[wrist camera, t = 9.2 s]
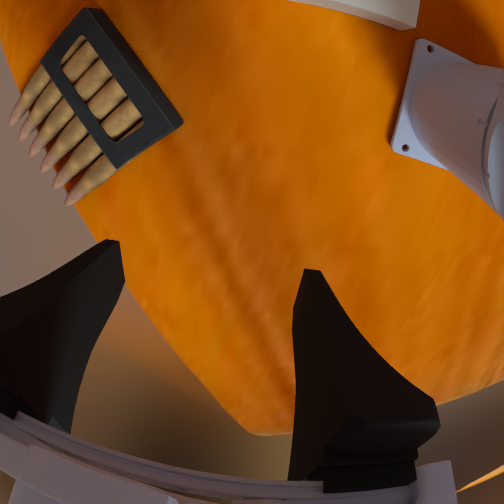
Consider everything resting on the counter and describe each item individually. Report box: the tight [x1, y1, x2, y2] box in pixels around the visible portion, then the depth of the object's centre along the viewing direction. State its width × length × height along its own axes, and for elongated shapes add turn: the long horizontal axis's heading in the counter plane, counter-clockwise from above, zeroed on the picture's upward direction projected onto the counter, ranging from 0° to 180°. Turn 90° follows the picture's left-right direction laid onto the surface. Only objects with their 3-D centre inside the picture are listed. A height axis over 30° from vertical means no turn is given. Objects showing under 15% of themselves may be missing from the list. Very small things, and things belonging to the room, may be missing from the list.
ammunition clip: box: [9, 7, 183, 206], centre depth 18 cm, size 11×2×12 cm
